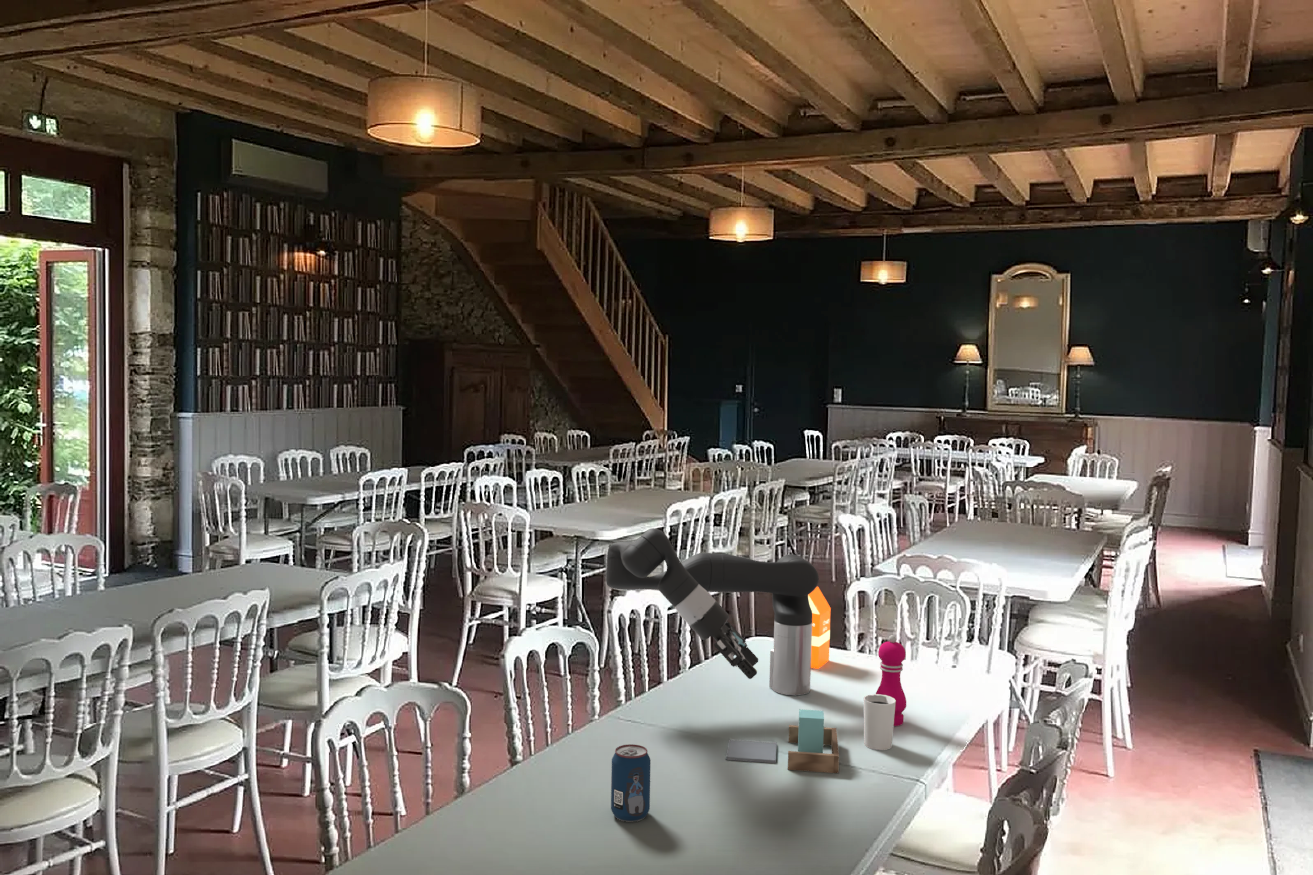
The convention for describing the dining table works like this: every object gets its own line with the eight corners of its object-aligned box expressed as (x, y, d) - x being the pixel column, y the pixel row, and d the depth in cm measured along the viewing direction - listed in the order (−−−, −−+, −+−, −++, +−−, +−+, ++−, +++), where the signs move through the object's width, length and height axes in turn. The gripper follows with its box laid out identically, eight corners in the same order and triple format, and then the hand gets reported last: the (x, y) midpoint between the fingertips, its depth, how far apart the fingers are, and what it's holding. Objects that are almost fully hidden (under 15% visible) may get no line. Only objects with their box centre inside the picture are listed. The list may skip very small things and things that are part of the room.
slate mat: (726, 759, 218) (726, 756, 218) (729, 742, 228) (729, 739, 228) (775, 763, 217) (775, 760, 217) (776, 745, 227) (776, 742, 227)
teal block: (797, 760, 219) (799, 717, 218) (797, 751, 224) (799, 709, 223) (822, 762, 218) (824, 719, 218) (822, 752, 223) (823, 710, 222)
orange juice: (790, 664, 286) (793, 590, 284) (802, 656, 293) (804, 584, 292) (818, 669, 282) (821, 594, 280) (829, 660, 290) (832, 587, 288)
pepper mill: (897, 729, 238) (900, 641, 236) (867, 722, 242) (870, 635, 240) (910, 721, 243) (914, 634, 242) (881, 714, 248) (884, 629, 246)
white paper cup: (894, 752, 224) (895, 705, 223) (861, 749, 226) (863, 703, 225) (893, 741, 231) (895, 695, 230) (862, 738, 232) (863, 693, 231)
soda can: (628, 803, 196) (629, 740, 195) (657, 814, 192) (658, 749, 191) (602, 816, 191) (603, 750, 190) (632, 827, 187) (633, 760, 186)
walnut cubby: (787, 769, 214) (788, 752, 213) (788, 740, 230) (788, 725, 229) (838, 773, 212) (839, 756, 212) (835, 744, 228) (836, 728, 228)
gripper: (691, 615, 229) (743, 671, 229) (684, 632, 215) (739, 692, 214) (717, 592, 228) (769, 648, 227) (711, 608, 214) (767, 668, 213)
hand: (754, 669), depth 221 cm, fingers open, 8 cm apart
